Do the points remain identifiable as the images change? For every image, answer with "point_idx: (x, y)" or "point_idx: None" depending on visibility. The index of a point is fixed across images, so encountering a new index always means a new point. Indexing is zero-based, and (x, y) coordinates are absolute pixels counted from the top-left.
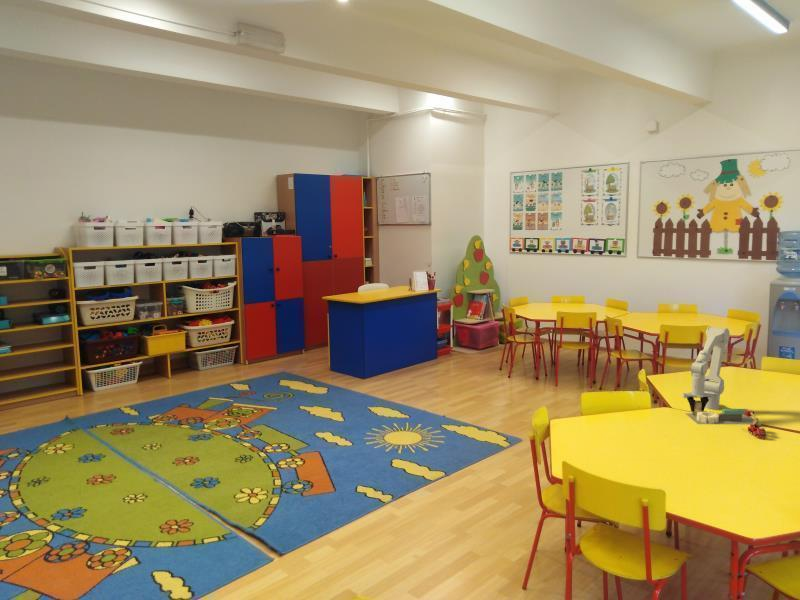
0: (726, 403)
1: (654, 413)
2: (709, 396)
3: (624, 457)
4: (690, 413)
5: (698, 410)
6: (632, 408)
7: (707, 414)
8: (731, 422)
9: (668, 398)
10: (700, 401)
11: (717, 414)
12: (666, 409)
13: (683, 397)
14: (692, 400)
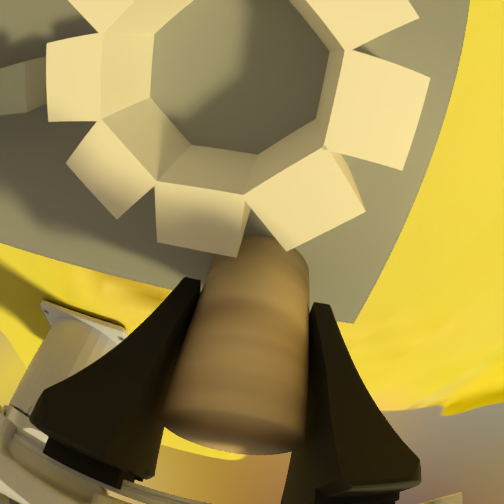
0: None
1: (491, 356)
2: (25, 449)
3: None
4: None
5: (264, 292)
6: (493, 400)
7: (175, 165)
8: (16, 11)
9: None
10: (179, 426)
11: (51, 70)
12: (371, 396)
13: (458, 497)
14: (392, 471)
